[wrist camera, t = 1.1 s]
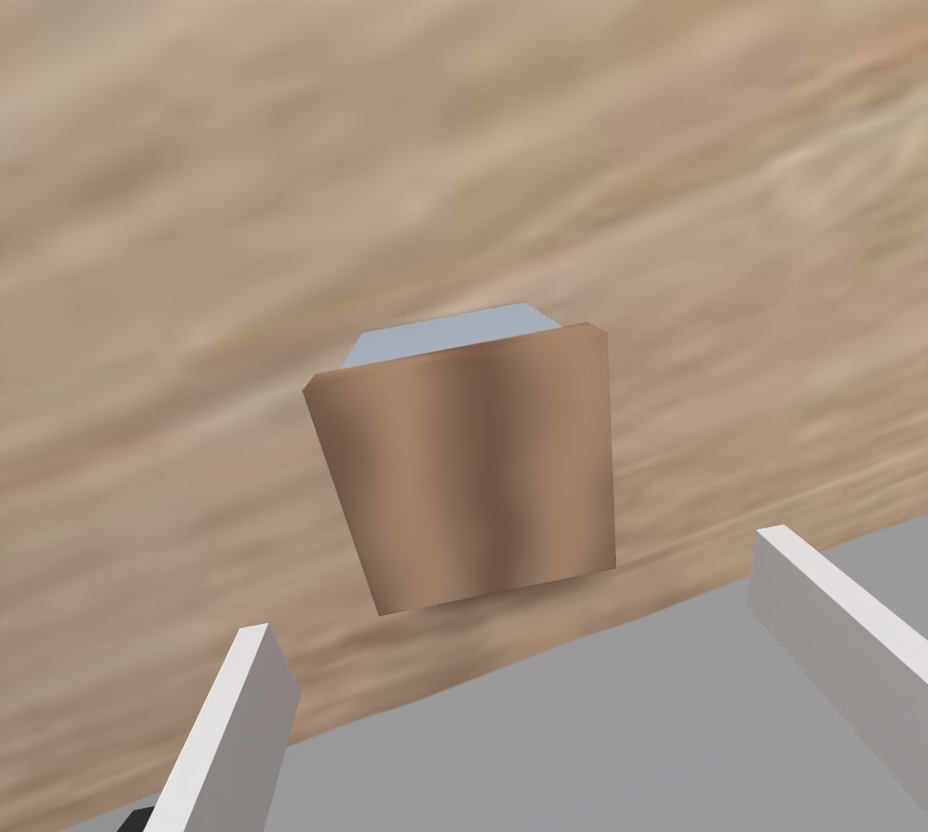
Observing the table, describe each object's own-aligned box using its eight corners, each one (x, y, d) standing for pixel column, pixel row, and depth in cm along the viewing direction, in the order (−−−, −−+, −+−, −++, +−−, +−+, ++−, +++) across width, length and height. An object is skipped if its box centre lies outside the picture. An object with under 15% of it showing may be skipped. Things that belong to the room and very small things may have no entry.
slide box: (406, 500, 28) (402, 579, 21) (362, 332, 23) (340, 369, 17) (543, 473, 28) (579, 543, 22) (524, 302, 24) (563, 327, 17)
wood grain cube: (383, 571, 22) (379, 615, 20) (319, 368, 18) (302, 391, 15) (593, 530, 22) (616, 568, 20) (580, 318, 18) (607, 332, 15)
